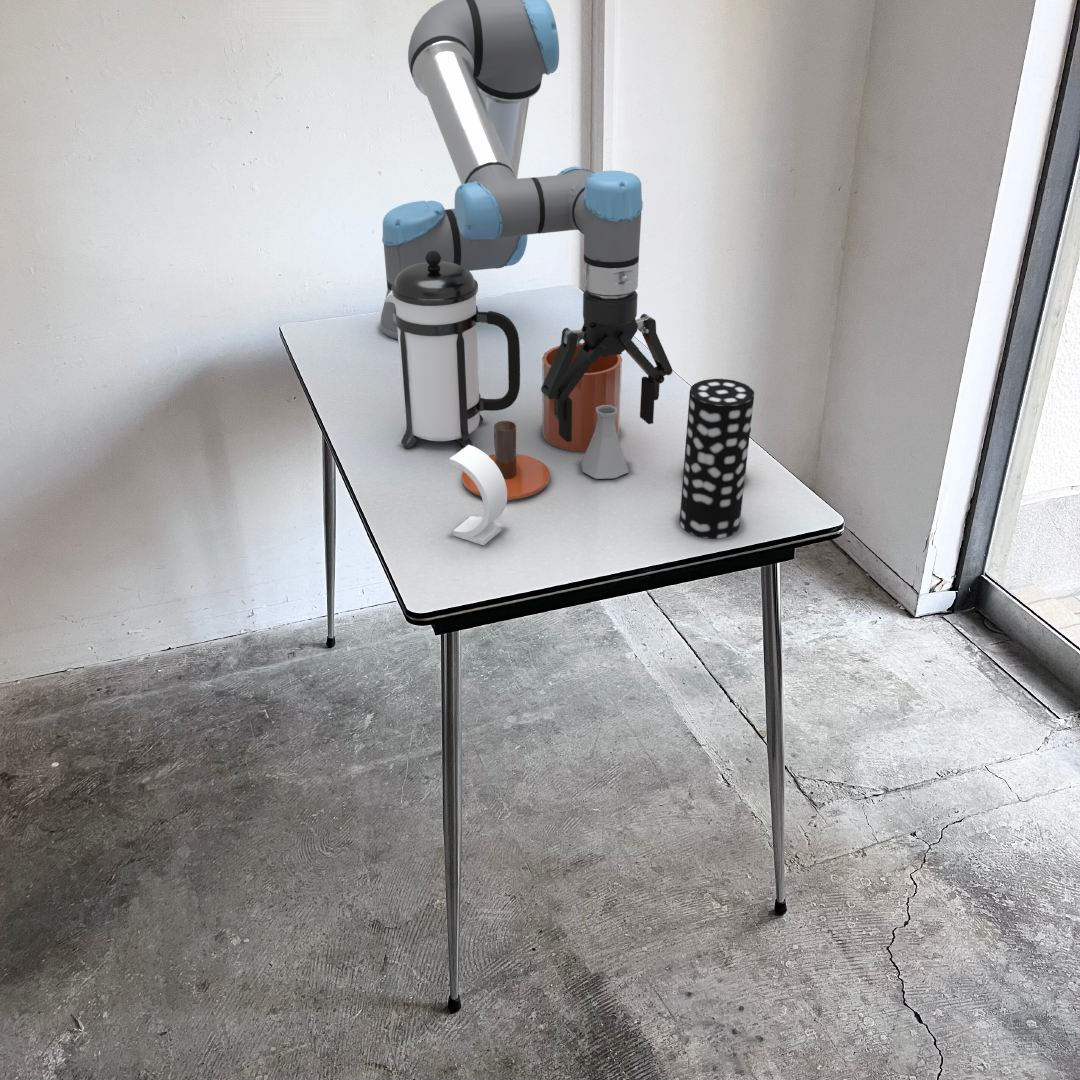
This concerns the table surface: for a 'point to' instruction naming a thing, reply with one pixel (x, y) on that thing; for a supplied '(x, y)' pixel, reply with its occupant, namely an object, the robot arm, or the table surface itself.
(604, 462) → the flask
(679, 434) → the table surface
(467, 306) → the coffee press
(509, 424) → the lid
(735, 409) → the white-spotted black cylinder
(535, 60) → the robot arm
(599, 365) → the canister
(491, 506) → the headphone stand
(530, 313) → the table surface
